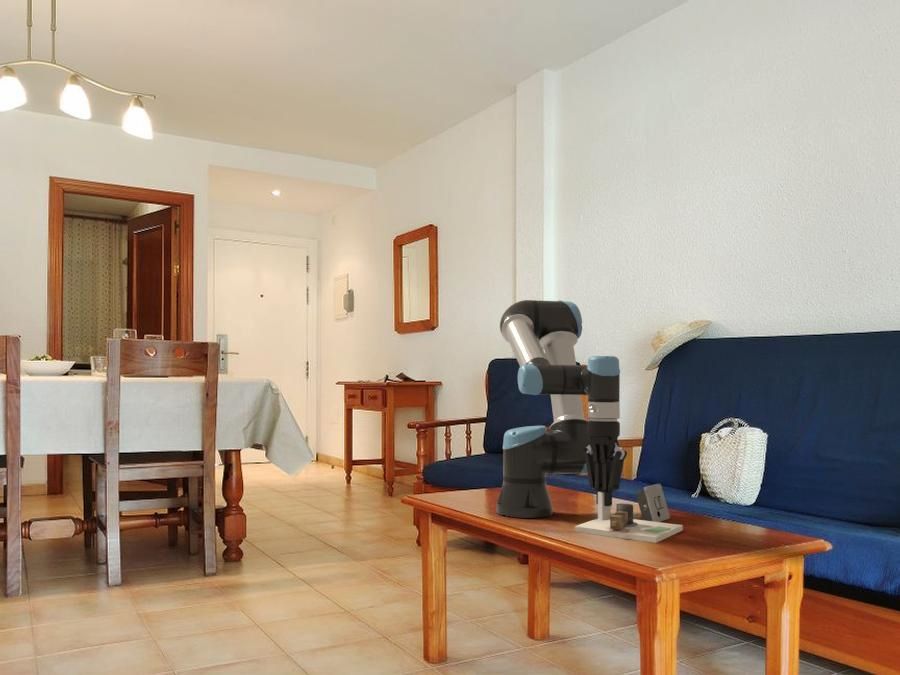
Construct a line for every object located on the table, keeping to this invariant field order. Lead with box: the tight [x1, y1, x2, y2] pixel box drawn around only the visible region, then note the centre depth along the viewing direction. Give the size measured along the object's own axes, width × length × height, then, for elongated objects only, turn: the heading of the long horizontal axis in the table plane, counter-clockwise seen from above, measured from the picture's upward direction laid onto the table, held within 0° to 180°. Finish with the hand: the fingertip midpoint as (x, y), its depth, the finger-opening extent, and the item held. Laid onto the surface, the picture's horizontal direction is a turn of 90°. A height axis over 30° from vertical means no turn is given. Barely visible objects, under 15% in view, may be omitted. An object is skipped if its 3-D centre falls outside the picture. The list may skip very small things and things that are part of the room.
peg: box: [610, 502, 634, 530], centre depth 176 cm, size 14×4×4 cm, turn 154°
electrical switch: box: [635, 483, 671, 523], centre depth 193 cm, size 9×5×9 cm, turn 141°
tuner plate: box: [574, 518, 684, 544], centre depth 178 cm, size 20×18×2 cm
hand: (604, 519), depth 176 cm, fingers closed
